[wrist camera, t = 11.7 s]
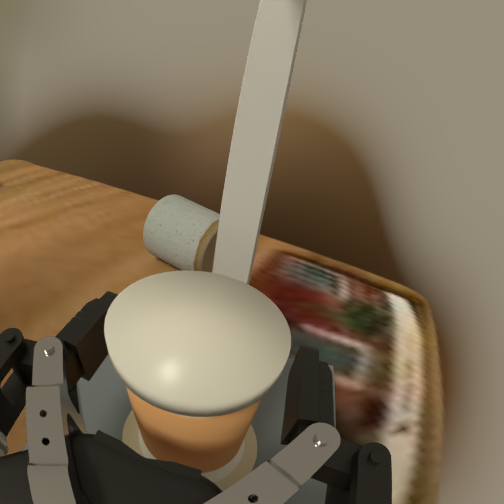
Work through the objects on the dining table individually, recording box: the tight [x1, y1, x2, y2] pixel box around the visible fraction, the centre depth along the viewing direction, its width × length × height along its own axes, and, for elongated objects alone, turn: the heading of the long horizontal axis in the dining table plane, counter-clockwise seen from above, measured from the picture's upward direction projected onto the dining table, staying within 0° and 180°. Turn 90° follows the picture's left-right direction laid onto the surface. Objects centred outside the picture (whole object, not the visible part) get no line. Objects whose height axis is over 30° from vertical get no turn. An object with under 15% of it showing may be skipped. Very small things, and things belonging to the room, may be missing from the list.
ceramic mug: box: [143, 195, 220, 273], centre depth 32 cm, size 11×8×8 cm
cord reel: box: [104, 270, 291, 483], centre depth 11 cm, size 6×6×10 cm
